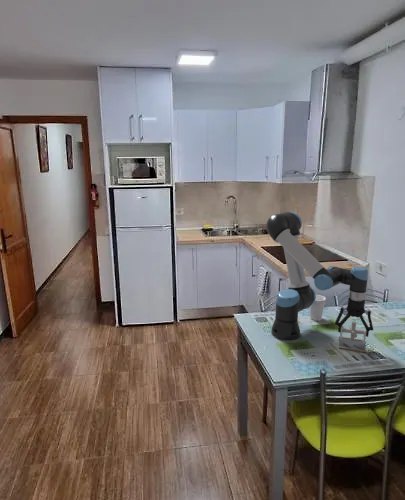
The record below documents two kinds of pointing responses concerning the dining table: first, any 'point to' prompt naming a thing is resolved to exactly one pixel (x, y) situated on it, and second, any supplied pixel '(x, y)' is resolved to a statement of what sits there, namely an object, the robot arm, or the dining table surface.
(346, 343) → the mat
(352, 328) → the pipe connector
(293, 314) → the robot arm
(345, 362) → the dining table surface
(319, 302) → the foam cup
